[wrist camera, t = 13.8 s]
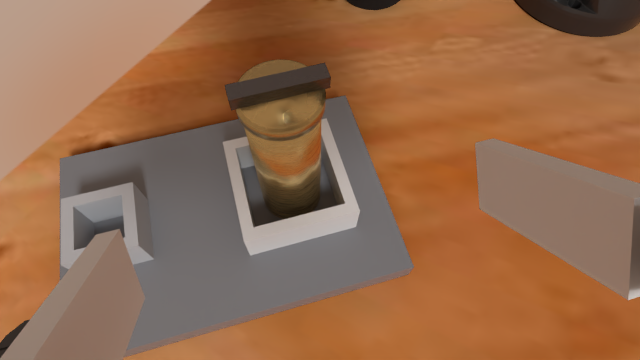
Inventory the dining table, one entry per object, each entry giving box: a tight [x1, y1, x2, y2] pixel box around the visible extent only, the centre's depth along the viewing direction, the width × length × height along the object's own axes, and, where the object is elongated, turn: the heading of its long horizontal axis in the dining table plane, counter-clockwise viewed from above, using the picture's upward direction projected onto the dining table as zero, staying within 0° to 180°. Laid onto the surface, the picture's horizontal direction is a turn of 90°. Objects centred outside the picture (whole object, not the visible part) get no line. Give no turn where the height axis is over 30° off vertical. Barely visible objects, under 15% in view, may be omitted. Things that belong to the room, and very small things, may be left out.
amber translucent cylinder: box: [225, 60, 331, 219], centre depth 26 cm, size 5×5×13 cm
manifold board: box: [60, 96, 414, 357], centre depth 31 cm, size 24×16×5 cm, turn 106°
